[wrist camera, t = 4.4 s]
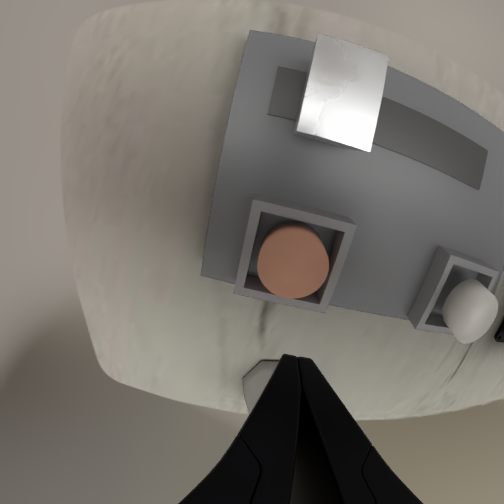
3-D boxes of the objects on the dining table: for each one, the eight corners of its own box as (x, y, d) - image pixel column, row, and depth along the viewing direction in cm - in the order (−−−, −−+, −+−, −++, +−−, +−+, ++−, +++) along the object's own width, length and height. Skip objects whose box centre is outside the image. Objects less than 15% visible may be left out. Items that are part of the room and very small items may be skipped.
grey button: (490, 284, 13) (505, 298, 12) (467, 328, 15) (479, 345, 13) (458, 274, 13) (474, 289, 12) (433, 323, 15) (445, 341, 13)
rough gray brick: (365, 74, 11) (388, 56, 8) (349, 149, 13) (370, 152, 10) (310, 58, 12) (318, 33, 8) (292, 134, 13) (296, 130, 10)
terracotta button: (331, 230, 15) (338, 242, 13) (313, 286, 16) (316, 304, 15) (268, 214, 15) (266, 225, 13) (254, 273, 16) (250, 290, 15)
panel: (519, 154, 13) (547, 161, 10) (462, 317, 19) (480, 341, 16) (253, 41, 14) (246, 19, 10) (208, 262, 19) (193, 287, 16)
